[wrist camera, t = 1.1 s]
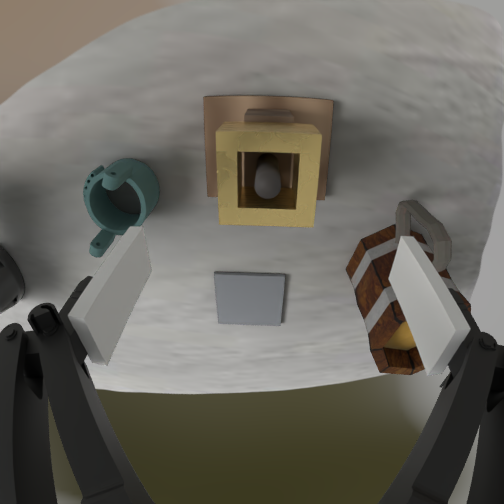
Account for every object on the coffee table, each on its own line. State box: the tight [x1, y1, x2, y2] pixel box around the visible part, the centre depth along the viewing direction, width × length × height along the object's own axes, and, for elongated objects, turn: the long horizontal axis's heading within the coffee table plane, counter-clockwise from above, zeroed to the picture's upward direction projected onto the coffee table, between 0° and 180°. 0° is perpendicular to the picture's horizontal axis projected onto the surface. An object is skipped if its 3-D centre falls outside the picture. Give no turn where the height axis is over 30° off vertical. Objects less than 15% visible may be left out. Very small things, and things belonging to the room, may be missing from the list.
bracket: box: [83, 158, 160, 257], centre depth 34 cm, size 9×9×9 cm
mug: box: [346, 200, 471, 375], centre depth 34 cm, size 20×14×15 cm
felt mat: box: [214, 272, 285, 326], centre depth 46 cm, size 10×10×1 cm
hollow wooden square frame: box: [216, 122, 322, 227], centre depth 26 cm, size 8×8×5 cm
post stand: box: [203, 96, 333, 200], centre depth 28 cm, size 14×12×13 cm
